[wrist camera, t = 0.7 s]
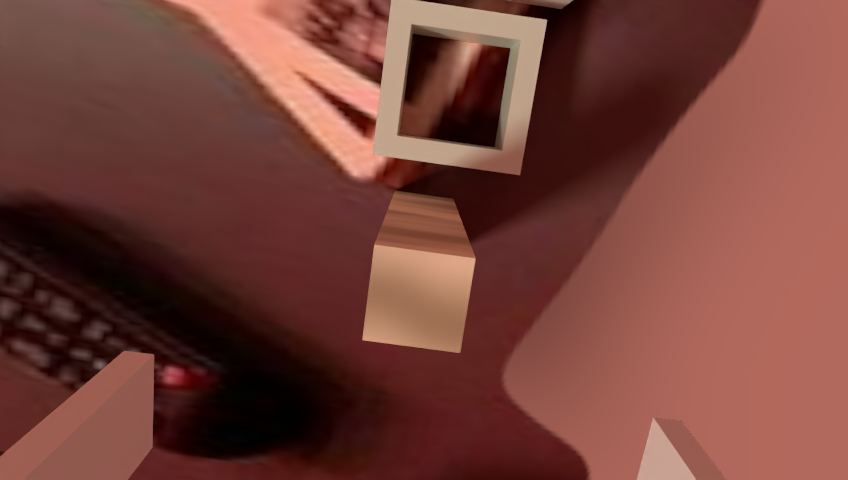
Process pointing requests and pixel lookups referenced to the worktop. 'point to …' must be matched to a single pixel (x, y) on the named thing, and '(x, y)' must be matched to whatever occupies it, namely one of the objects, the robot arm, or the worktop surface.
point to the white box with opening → (545, 3)
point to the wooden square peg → (420, 275)
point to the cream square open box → (467, 27)
